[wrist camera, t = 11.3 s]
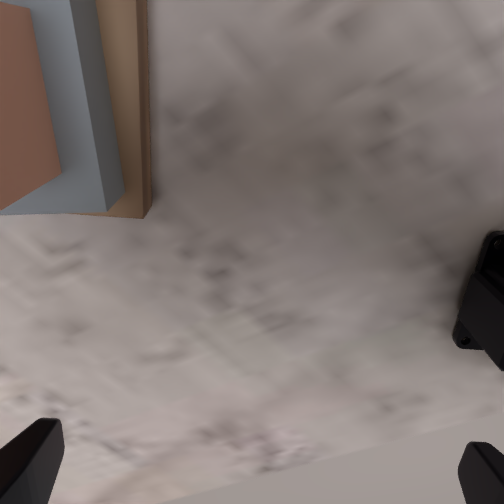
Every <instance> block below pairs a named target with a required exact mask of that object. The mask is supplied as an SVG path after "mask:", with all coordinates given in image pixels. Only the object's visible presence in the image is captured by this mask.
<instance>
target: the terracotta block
mask: <svg viewBox="0 0 504 504" xmlns="http://www.w3.org/2000/svg"><path fill="white" fill-rule="evenodd" d="M60 174H62V172H61V167H60V162H59V156H58V151H57V146H56V141H55V136H54V131H53V126H52V121H51V115H50V110H49V105H48V100H47V95H46V90H45V85H44V80H43V75H42V69H41V64H40V59H39V54H38V49H37V44H36V39H35V34H34V29H33V23H32V18H31V13H30V8H25V7H21V6H17V5H12V4H8V3H4V2H0V211H1V210H3V209H4V208H6V207H8V206H9V205H11V204H13V203H14V202H16V201H18V200H19V199H21V198H22V197H24V196H26V195H27V194H29V193H31V192H32V191H34V190H36V189H37V188H39V187H40V186H42V185H44V184H45V183H47V182H49V181H50V180H52V179H54V178H55V177H57V176H58V175H60Z"/></svg>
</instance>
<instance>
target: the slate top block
mask: <svg viewBox="0 0 504 504" xmlns="http://www.w3.org/2000/svg"><path fill="white" fill-rule="evenodd" d="M0 2H4V3H8V4H12V5H17V6H21V7H25V8H30V13H31V18H32V23H33V29H34V34H35V39H36V44H37V49H38V54H39V59H40V64H41V69H42V75H43V80H44V85H45V90H46V95H47V100H48V105H49V110H50V115H51V121H52V126H53V131H54V136H55V141H56V146H57V151H58V156H59V162H60V167H61V172H62V174H60V175H58V176H57V177H55V178H54V179H52V180H50V181H49V182H47V183H45V184H44V185H42V186H40V187H39V188H37V189H36V190H34V191H32V192H31V193H29V194H27V195H26V196H24V197H22V198H21V199H19V200H18V201H16V202H14V203H13V204H11V205H9V206H8V207H6V208H4V209H3V210H1V211H0V215H21V214H58V213H94V212H107V211H108V210H109V209H110V208H111V207H112V206H113V205H114V204H115V203H116V202H117V201H118V200H119V199H120V198H121V196H122V195H123V194H124V193H125V188H124V181H123V175H122V168H121V162H120V156H119V149H118V143H117V136H116V130H115V123H114V117H113V111H112V104H111V98H110V91H109V85H108V79H107V72H106V66H105V59H104V53H103V47H102V40H101V34H100V27H99V21H98V15H97V8H96V2H95V0H0Z"/></svg>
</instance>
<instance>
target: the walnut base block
mask: <svg viewBox="0 0 504 504" xmlns="http://www.w3.org/2000/svg"><path fill="white" fill-rule="evenodd" d="M95 2H96V8H97V15H98V21H99V27H100V34H101V40H102V47H103V53H104V59H105V66H106V72H107V79H108V85H109V91H110V98H111V104H112V111H113V117H114V123H115V130H116V136H117V143H118V149H119V156H120V162H121V168H122V175H123V181H124V188H125V193H124V194H123V195H122V196H121V198H120V199H119V200H118V201H117V202H116V203H115V204H114V205H113V206H112V207H111V208H110V209H109V210H108V211H107V212H94V213H65V214H80V215H94V216H109V217H124V218H138V219H144V217H145V216H146V214H147V212H148V211H149V209H150V208H151V206H152V193H151V153H150V112H149V71H148V30H147V0H95Z"/></svg>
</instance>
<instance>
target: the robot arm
mask: <svg viewBox="0 0 504 504" xmlns="http://www.w3.org/2000/svg"><path fill="white" fill-rule="evenodd" d="M500 239H501V241H500V243H499V244H498V245H496V246H494V244H495V242H496V241H497V240H500ZM458 318H459V319H458V322H457V325H456V328H455V331H454V334H453V341H454V342H455V344H456V345H457V346H458V347H459V348H462V349H474V350H484V351H485V352H486V353H487V354H488V356H489V357H490V358H491V359H492V361H493V362H494V363H495V364H496V365H497V367H498V368H499V369H500V370H501V371H504V232H502V231H496V232H493V233H490V234H489V235H488V236H487V237H486V239H485V242H484V245H483V248H482V251H481V254H480V257H479V260H478V263H477V266H476V269H475V272H474V273H473V274H472V275H471V278H470V281H469V284H468V287H467V290H466V293H465V296H464V299H463V302H462V305H461V308H460V311H459V314H458ZM464 337H467V338H466V339H464V340H462V339H463V338H464ZM64 448H65V446H64V438H63V431H62V424H61V421H60V420H59V419H57V418H40V419H38V420H36V421H35V422H34V423H32V424H31V425H30V426H29V427H27V428H26V429H25V430H24V431H22V432H21V433H20V434H19V435H17V436H16V437H15V438H14V439H12V440H11V441H10V442H8V443H7V444H6V445H5V446H3V447H2V448H1V449H0V504H48V501H49V498H50V495H51V492H52V489H53V486H54V483H55V480H56V477H57V474H58V471H59V468H60V465H61V462H62V459H63V455H64ZM458 477H459V481H460V484H461V488H462V491H463V494H464V497H465V501H466V504H504V455H503V454H502V453H501V452H499V451H498V450H497V449H496V448H495V447H493V446H492V445H491V444H489V443H486V442H469V443H468V444H467V446H466V448H465V451H464V453H463V456H462V458H461V461H460V463H459V466H458Z"/></svg>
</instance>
